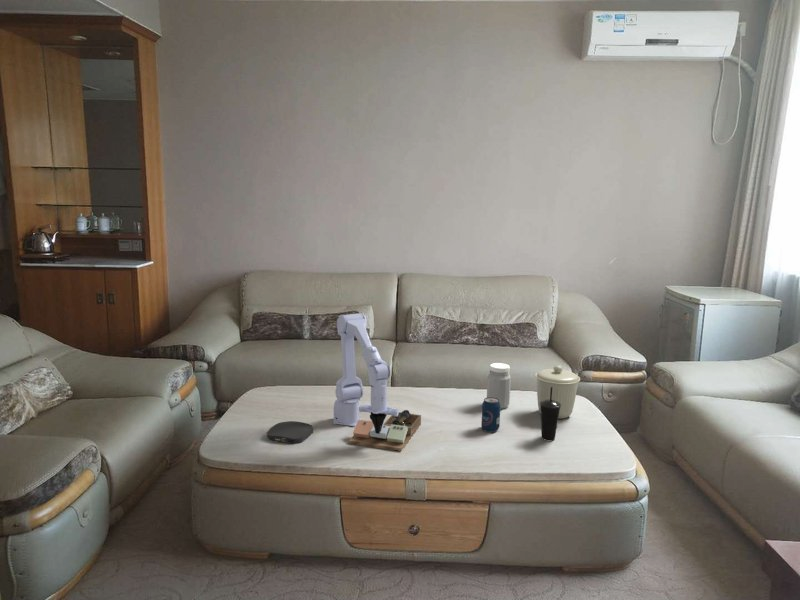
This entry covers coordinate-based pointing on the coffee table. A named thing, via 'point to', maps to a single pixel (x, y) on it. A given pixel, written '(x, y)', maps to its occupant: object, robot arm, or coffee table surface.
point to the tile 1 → (363, 428)
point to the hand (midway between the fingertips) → (378, 432)
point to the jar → (499, 383)
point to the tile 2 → (382, 434)
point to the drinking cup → (549, 417)
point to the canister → (557, 388)
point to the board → (383, 442)
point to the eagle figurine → (401, 418)
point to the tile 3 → (397, 433)
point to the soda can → (490, 414)
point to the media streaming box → (290, 432)
